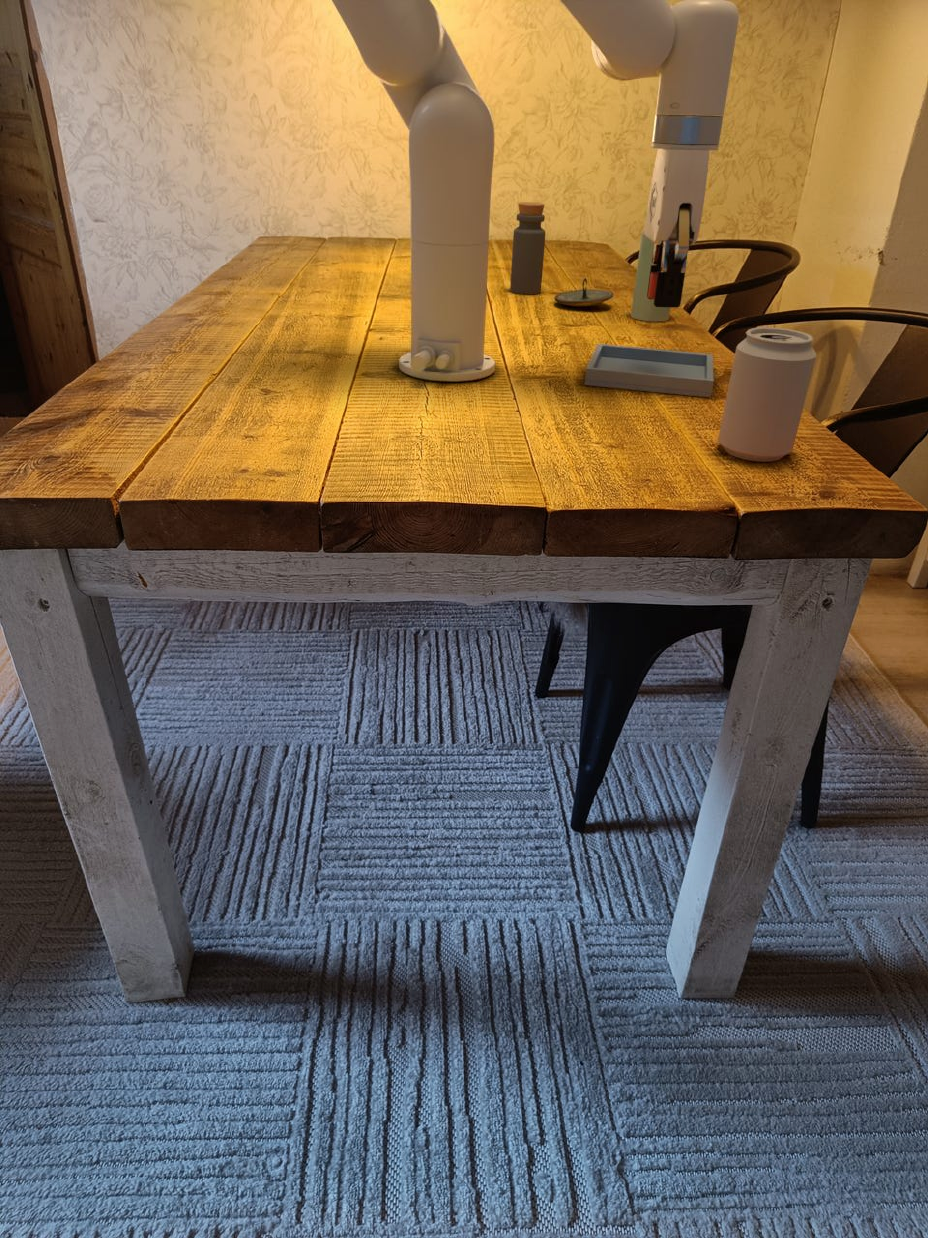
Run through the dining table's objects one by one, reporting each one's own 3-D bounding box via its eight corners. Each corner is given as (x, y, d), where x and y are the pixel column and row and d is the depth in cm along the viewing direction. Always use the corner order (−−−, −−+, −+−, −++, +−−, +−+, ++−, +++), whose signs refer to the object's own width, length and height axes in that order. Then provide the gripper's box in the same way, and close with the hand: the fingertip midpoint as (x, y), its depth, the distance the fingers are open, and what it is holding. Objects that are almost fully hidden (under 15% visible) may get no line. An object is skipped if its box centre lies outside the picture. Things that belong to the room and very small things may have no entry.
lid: (618, 319, 146) (627, 289, 144) (571, 306, 141) (580, 276, 139) (588, 309, 154) (596, 281, 152) (543, 297, 150) (551, 268, 148)
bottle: (504, 291, 156) (510, 203, 148) (517, 287, 161) (523, 200, 153) (533, 295, 154) (540, 205, 146) (545, 291, 158) (552, 203, 151)
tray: (710, 397, 102) (713, 380, 101) (584, 385, 105) (586, 368, 104) (710, 369, 114) (712, 354, 112) (595, 358, 116) (597, 343, 115)
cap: (687, 300, 103) (690, 275, 102) (658, 301, 102) (661, 277, 100) (669, 293, 106) (673, 270, 105) (641, 295, 105) (644, 271, 104)
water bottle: (668, 322, 138) (687, 202, 129) (629, 319, 139) (645, 199, 130) (669, 315, 143) (687, 198, 134) (632, 312, 145) (647, 196, 135)
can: (776, 439, 90) (803, 324, 83) (802, 465, 83) (834, 342, 77) (707, 438, 89) (730, 322, 83) (728, 463, 83) (754, 340, 77)
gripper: (641, 131, 102) (623, 289, 112) (667, 135, 88) (644, 316, 97) (702, 133, 102) (679, 291, 112) (738, 137, 88) (708, 318, 97)
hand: (663, 301), depth 104 cm, fingers closed on cap, 4 cm apart
